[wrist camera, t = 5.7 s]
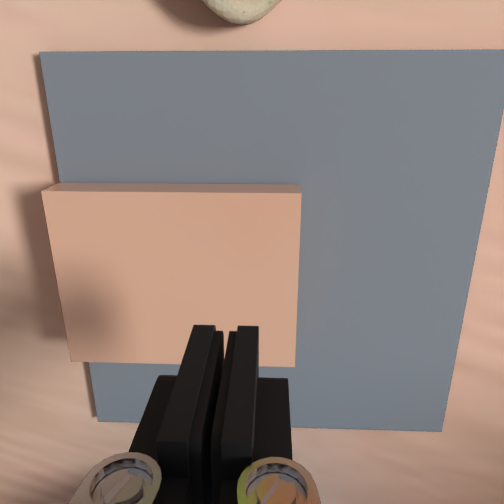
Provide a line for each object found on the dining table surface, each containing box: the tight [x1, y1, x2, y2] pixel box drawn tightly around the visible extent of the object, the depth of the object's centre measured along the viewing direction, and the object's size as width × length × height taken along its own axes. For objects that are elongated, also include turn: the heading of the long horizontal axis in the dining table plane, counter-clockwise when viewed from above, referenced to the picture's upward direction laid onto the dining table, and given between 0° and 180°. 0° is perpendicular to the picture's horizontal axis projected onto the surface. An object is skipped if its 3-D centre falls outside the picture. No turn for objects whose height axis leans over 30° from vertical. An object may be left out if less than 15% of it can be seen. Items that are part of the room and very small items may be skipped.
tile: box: [41, 182, 302, 367], centre depth 17 cm, size 2×7×9 cm
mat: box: [39, 50, 504, 432], centre depth 18 cm, size 16×16×1 cm
